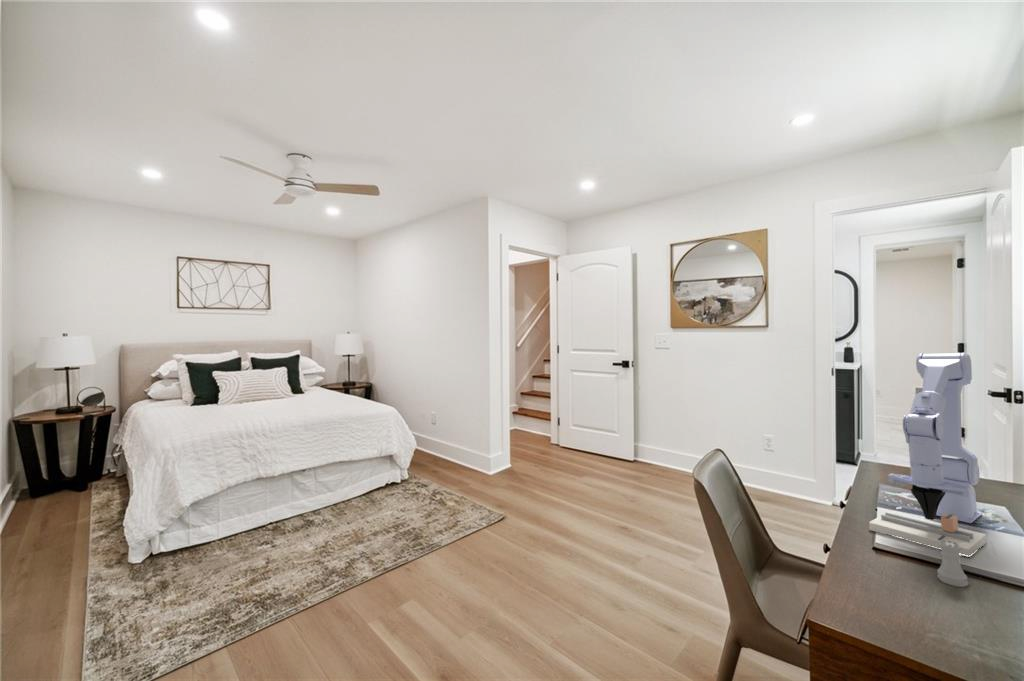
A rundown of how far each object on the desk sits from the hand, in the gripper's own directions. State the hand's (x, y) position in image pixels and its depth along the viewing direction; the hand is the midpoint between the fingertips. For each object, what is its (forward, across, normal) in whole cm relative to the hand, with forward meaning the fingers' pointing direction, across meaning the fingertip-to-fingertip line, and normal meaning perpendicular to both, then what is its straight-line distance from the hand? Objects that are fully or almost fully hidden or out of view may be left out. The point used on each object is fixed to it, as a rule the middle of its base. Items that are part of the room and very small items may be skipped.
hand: (930, 518), depth 103 cm
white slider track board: (+5, -1, 0) cm, 5 cm away
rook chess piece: (+5, +9, -20) cm, 22 cm away
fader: (+2, +3, 0) cm, 4 cm away
